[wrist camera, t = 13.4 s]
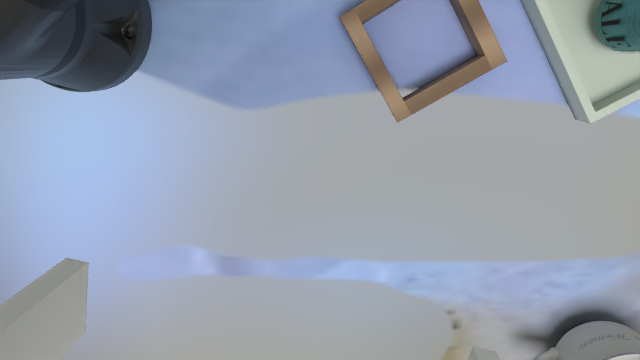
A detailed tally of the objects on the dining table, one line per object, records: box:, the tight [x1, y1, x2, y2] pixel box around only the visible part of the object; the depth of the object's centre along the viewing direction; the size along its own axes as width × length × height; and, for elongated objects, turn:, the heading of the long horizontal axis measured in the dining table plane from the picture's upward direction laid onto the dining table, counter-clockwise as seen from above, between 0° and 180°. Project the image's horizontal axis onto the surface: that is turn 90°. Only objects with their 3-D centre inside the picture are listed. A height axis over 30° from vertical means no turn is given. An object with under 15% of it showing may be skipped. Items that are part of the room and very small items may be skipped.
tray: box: [521, 0, 640, 124], centre depth 40 cm, size 14×14×3 cm
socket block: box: [340, 0, 507, 122], centre depth 42 cm, size 12×12×3 cm
